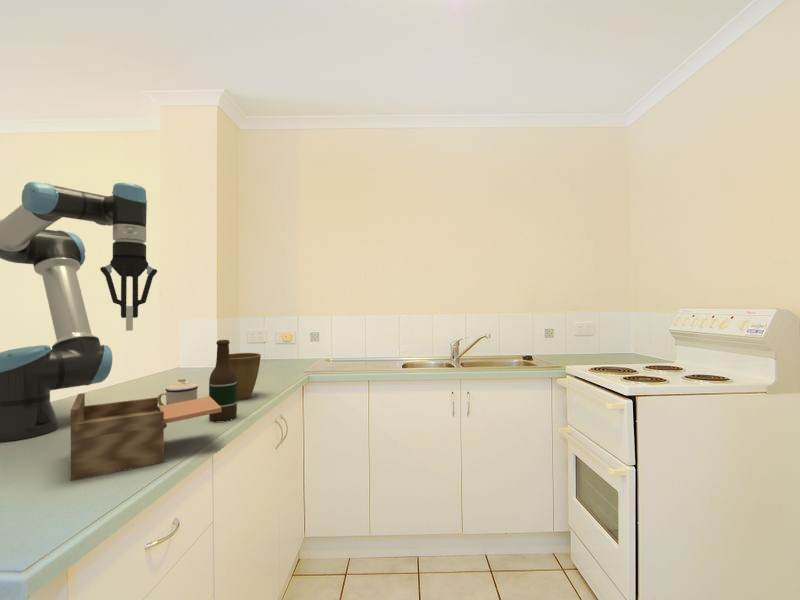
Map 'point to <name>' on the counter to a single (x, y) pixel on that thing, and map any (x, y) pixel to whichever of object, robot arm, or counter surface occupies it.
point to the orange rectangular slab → (189, 409)
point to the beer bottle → (223, 384)
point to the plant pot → (245, 372)
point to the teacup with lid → (179, 392)
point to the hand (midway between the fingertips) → (129, 330)
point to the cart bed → (115, 436)
